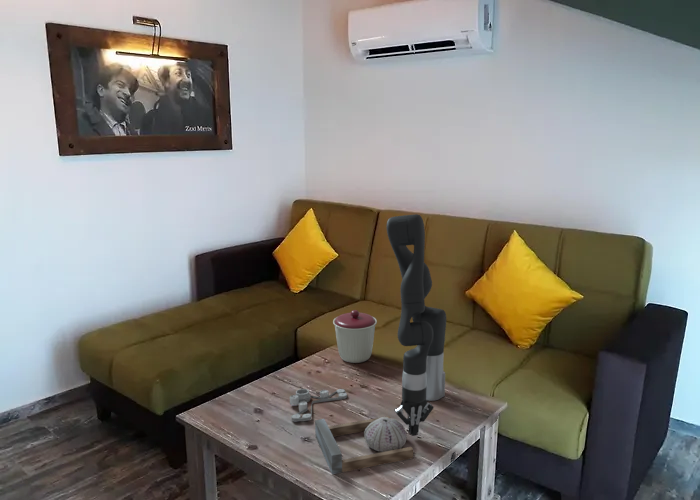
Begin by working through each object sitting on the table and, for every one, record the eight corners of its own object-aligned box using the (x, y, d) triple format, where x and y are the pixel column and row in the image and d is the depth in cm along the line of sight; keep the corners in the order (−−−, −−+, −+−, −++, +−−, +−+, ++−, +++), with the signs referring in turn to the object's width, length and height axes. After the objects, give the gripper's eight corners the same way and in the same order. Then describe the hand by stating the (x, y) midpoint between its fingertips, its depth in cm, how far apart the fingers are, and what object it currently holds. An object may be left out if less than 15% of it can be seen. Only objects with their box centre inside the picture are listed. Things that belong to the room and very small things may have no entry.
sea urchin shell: (414, 438, 180) (414, 416, 178) (395, 461, 168) (395, 437, 166) (376, 427, 186) (376, 405, 184) (356, 448, 175) (356, 425, 173)
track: (389, 424, 188) (389, 407, 187) (413, 458, 169) (413, 440, 168) (315, 437, 181) (315, 420, 180) (332, 474, 162) (331, 455, 161)
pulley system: (270, 415, 196) (302, 427, 187) (269, 403, 195) (302, 413, 186) (321, 388, 217) (352, 397, 208) (320, 376, 216) (352, 385, 207)
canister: (324, 359, 238) (323, 311, 233) (352, 345, 251) (352, 300, 246) (358, 371, 226) (357, 321, 221) (385, 356, 240) (385, 309, 235)
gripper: (428, 375, 181) (427, 424, 185) (389, 381, 177) (389, 431, 181) (439, 385, 174) (437, 436, 178) (399, 392, 170) (398, 444, 174)
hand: (413, 434), depth 179 cm, fingers closed
